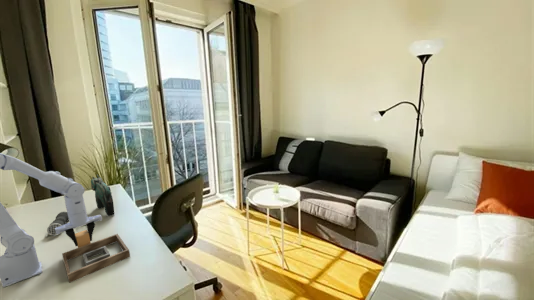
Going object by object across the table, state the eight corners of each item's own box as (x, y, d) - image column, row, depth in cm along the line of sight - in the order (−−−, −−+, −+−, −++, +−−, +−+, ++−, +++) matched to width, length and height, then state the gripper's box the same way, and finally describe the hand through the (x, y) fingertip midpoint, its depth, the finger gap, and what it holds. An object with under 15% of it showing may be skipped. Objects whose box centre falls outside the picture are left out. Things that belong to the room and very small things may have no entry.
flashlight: (58, 221, 121) (55, 211, 120) (71, 219, 123) (69, 209, 122) (48, 236, 107) (45, 225, 106) (63, 233, 110) (61, 222, 109)
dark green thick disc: (94, 207, 135) (87, 172, 131) (107, 203, 140) (101, 170, 136) (105, 218, 122) (98, 180, 118) (119, 213, 127) (113, 176, 123)
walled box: (69, 282, 79) (67, 274, 79) (63, 260, 90) (62, 253, 90) (130, 256, 91) (129, 249, 91) (118, 240, 103) (117, 233, 102)
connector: (79, 251, 96) (76, 237, 95) (77, 247, 99) (74, 233, 97) (91, 246, 99) (88, 233, 97) (89, 242, 101) (86, 229, 100)
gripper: (96, 202, 103) (102, 231, 106) (51, 214, 93) (59, 246, 96) (100, 207, 98) (106, 237, 101) (53, 220, 88) (61, 254, 91)
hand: (83, 242), depth 98 cm, fingers closed on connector, 4 cm apart
